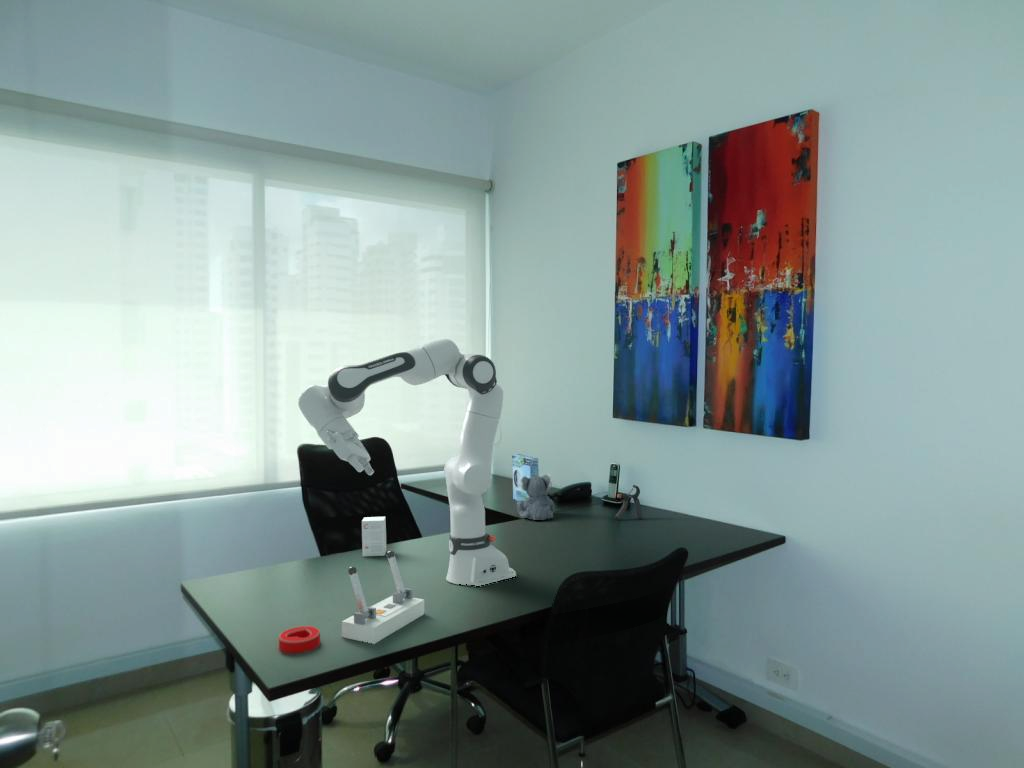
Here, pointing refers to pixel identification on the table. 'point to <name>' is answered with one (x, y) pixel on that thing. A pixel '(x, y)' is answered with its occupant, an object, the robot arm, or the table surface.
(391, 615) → the switch unit
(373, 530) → the small box
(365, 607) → the lever
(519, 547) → the table surface
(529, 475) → the light blue product box
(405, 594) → the lever
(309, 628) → the decorative ornament
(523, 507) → the koala plush
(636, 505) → the hand grip strengthener
